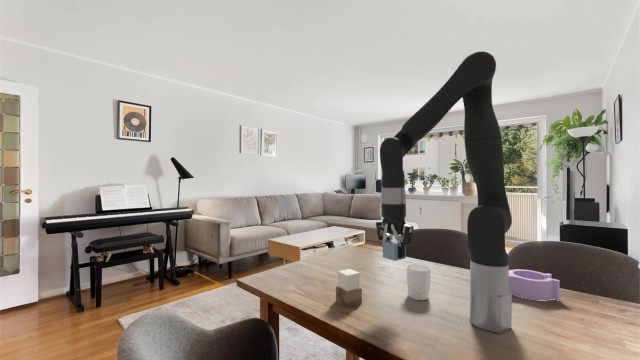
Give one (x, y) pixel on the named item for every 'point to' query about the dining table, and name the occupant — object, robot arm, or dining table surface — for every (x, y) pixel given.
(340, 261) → the dining table surface
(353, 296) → the tower base
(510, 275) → the purple piece
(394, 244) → the blue cube
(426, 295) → the white cup
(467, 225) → the robot arm
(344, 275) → the tower top
